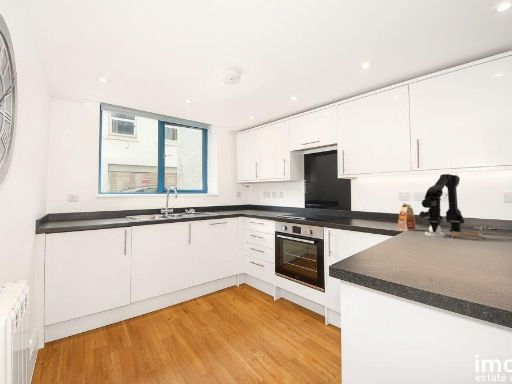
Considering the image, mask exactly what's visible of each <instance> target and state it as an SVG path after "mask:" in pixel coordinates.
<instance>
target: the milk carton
mask: <svg viewBox="0 0 512 384" xmlns="http://www.w3.org/2000/svg"><path fill="white" fill-rule="evenodd" d="M402 203H403V204H402V206H400V211H399V215H398V222H397V227H396V228H397V230H401V231H410V230H411V231H416V230H417V228H416V227H417V226H416V220H415V214H414V208H413V207H412V206H411V204H407V203H406V202H405V203H404V202H402Z"/></svg>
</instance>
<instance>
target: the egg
mask: <svg viewBox="0 0 512 384" xmlns="http://www.w3.org/2000/svg"><path fill="white" fill-rule="evenodd" d="M428 230H429V231H428V232H431V233H433V234H440V232H442V228H441V225H438V228H437V230H436V232H433V230H432V226H431V225H430V226H429V229H428Z"/></svg>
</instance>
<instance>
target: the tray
mask: <svg viewBox="0 0 512 384" xmlns="http://www.w3.org/2000/svg"><path fill="white" fill-rule="evenodd" d="M450 237H451V238H462V239H474V240H482V233H480V232H468V231H467V232H465V231H462V232H454V231H452V232H450Z"/></svg>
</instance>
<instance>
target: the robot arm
mask: <svg viewBox="0 0 512 384" xmlns="http://www.w3.org/2000/svg"><path fill="white" fill-rule="evenodd" d="M460 179H461V178H460V177H459V176H458V175H456V174H455V175H454V174H449V173H443V174H440V176H439V178H438V179H437V181H436V182H435V183H434V185H432V186H430V187H429V188H428V189H427V190H426V193H425V195H424V198H423V200H422V202H421V205H422V207H423V208H425V209H428V211H424V210H422V211H420V212H419V213H418V216H419V218H420V219H424V218H426V217H427V218H426V220H427V223H429V224H430V226H432V230H433V232H436V230H437V228H438V225H439V226H441V223H442V221H443V216H442V215H441V211H442V210H441V201H442V199H441V197H442V195H443V193H444V191H443V190H444V188H445V187H446V188H447V197H448V210H447V211H445V219H446V223H449V232H450V233H451V232H452V231H454V232H463V231H462V230H461V228H462V225H463V224H465V219H464V216H463V215H462V211H461V210H460V209H459V207H458V193H457V187H458V186H459V184H460ZM461 224H462V225H461Z"/></svg>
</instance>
